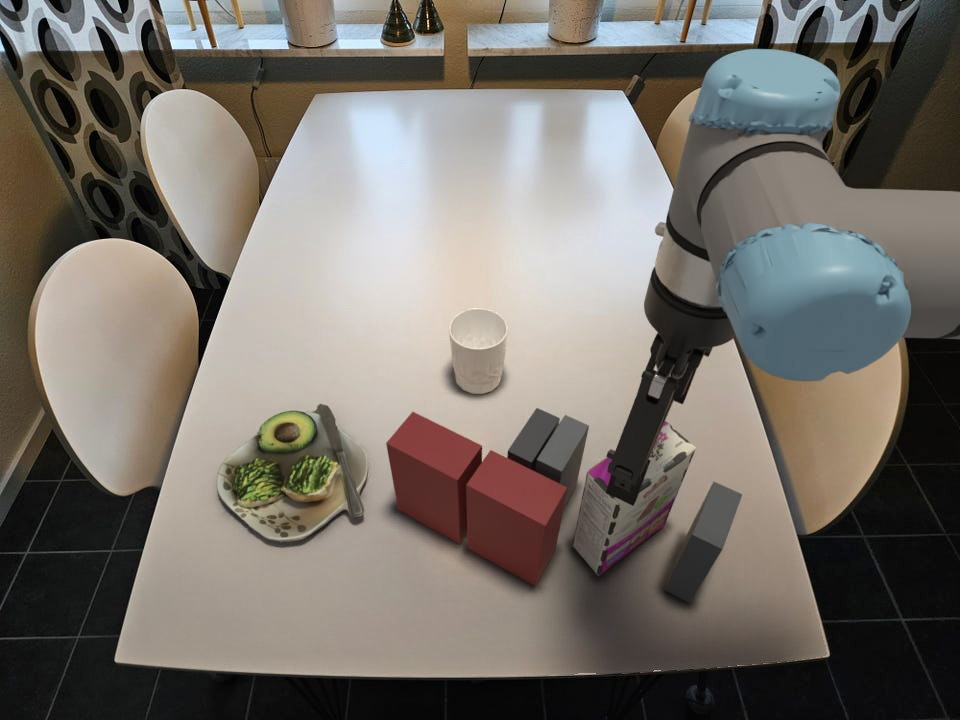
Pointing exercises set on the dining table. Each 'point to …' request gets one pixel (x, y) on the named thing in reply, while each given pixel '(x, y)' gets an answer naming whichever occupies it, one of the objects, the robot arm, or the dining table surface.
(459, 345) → the white cup
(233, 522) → the dining table surface
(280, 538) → the avocado toast plate
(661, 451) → the candy bar box
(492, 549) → the maroon boxes
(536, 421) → the grey boxes
